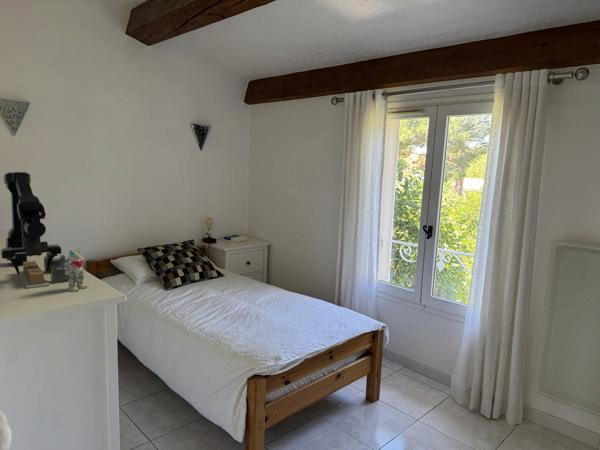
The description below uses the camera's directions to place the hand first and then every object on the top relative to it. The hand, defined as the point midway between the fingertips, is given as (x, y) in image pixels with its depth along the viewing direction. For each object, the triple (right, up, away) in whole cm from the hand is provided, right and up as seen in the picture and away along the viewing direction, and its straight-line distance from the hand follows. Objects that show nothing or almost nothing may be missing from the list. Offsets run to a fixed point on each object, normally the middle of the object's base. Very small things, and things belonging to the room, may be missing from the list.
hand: (33, 273), depth 155 cm
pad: (0, -2, 0) cm, 2 cm away
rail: (0, -2, 0) cm, 2 cm away
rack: (+6, -2, +6) cm, 9 cm away
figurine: (+21, -5, -9) cm, 24 cm away
